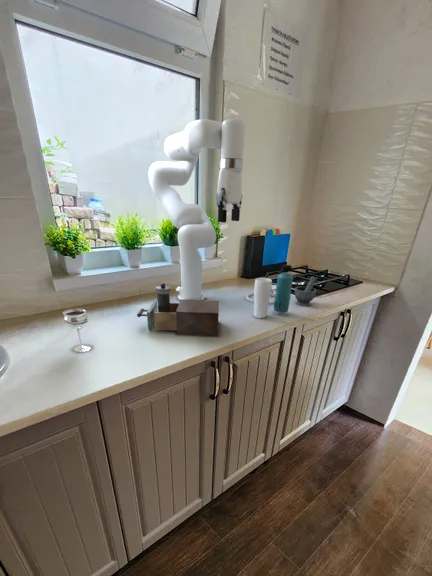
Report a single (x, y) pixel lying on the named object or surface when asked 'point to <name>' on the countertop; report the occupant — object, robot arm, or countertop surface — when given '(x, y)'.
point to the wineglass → (77, 324)
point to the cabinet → (197, 317)
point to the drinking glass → (261, 296)
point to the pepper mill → (163, 298)
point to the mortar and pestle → (305, 293)
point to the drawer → (160, 317)
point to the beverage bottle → (283, 290)
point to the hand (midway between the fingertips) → (228, 221)
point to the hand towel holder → (270, 295)
